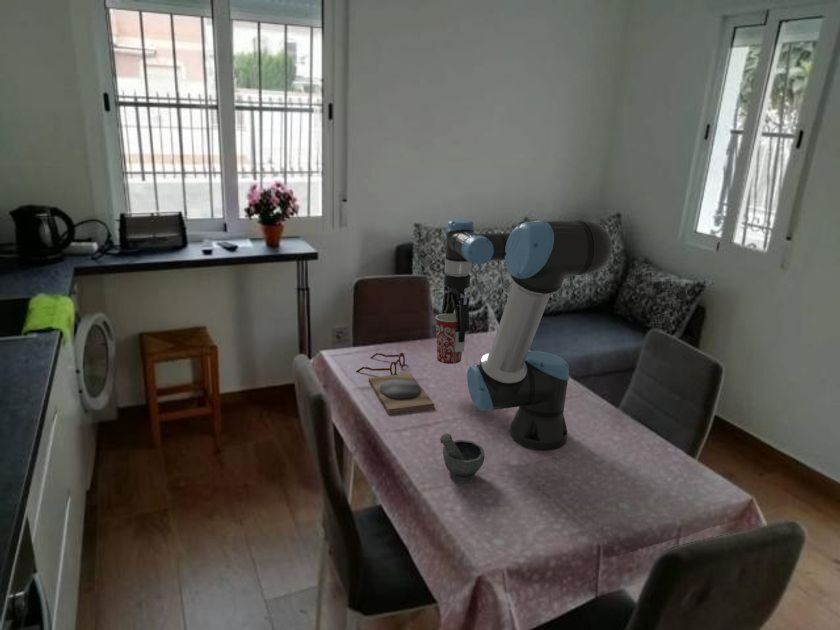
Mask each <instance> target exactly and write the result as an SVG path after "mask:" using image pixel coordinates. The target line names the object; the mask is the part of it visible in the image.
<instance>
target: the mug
mask: <svg viewBox="0 0 840 630" xmlns="http://www.w3.org/2000/svg"><path fill="white" fill-rule="evenodd" d="M434 319H435V322H436V323H435V324H436V325H435V329H436V359H437V361H438V362H439V363H442V364H444V365H445V364H446V365H453V364H458V363H460V362H461V361H462V354H463V352H455V337H456V332H455V330H457V321H456V314H455V313H453V314H441V313H440V314H436V316H435V317H434Z"/></svg>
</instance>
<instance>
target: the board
mask: <svg viewBox="0 0 840 630" xmlns="http://www.w3.org/2000/svg"><path fill="white" fill-rule="evenodd" d="M368 383H370V384H369V386H370V387H371V388H372V390H373V392H374V393H375V395H376V397H377V398H378V400H379V402H380V403H381V405H382V408H383V409H384V410H385V412H386V413H387V415H390V414H391V413H393V414H400V413H407V412H408V413H409V412H415V411H424V410H430V409H431V410H433V409H435V403H434V402H433V400H432V399H431V397H430V396H428V394H427V393H426V391H425V390H424V389H423V387H422V386H421V385H420V384H419V382H418V381H417V380H416V378H415V376H414V375H413V374H412V373H410V372H409V373H403V374H402V373H400V374H396V375H394V374H393V375H391V374H390V375H381V376H373V377H368ZM391 415H392V414H391Z"/></svg>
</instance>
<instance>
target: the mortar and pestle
mask: <svg viewBox="0 0 840 630" xmlns="http://www.w3.org/2000/svg"><path fill="white" fill-rule="evenodd" d="M439 441H440V444H442V445H443V447H442V456H443V461H444V462H443V463H444V465H445V467H446V469H447V470H448V471H449V473H448V475H449V478H450V480H452V481H453V482H455V483H459V484H469V483H471V482H473V481H474V480H475V479H476V473H478V472H479V470H480V469H481V468H482V466H483V464H484V461H485V457H486V454H485V450H484V448H483V446H481V445H480V444H478V443H476V442H474V441H472V440H471V441H470V440H466V439H465V440H463V439H457V440H453V437H452V435H451V434H450V433H444V434H442V435H441V436H440V438H439Z"/></svg>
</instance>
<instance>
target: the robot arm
mask: <svg viewBox="0 0 840 630" xmlns="http://www.w3.org/2000/svg"><path fill="white" fill-rule="evenodd" d="M446 227H447V228H446V233H445V234H446V239H445V240H446V241H445V242H446V243H445V259H444V272H445V274H444V279H443V285H444V288H443V298H442V306H441V313H440V314H456V321H457V330H455V332H456V337H455V352H462V353H463V352H465V344H466V342H465V341H466V332H469V331H470V311H469V310H470V307H469V305H470V297H466V293H465V290H466V289H468V288H470V285H471V275H470V274H471V271H472V270H471V267H472V265H473V264H474V265H477V266H478V265H479V266H481V265H485V264H487V263H488V262H495V261H496V262H497V261H499V262H500V261H504V263H505V266H506V270H507V272H508V273H509V277H510V279H511V280H512V285H511V288H510V291H509V294H508V296H507V301H506V303H505V306H504V308H503V312H502V315H501V318H500V321H499V324H498V326H497V327H498V328H497V330H496V334H495V337H494V339H493V343H492V346H491V348H490V349H489V350H487V351H486V352H485V353H484V354H483V355H482V356H481V360H480V362H479V364H473V365H470V366H469V367H468V369H467V373H466V381H467V388H468V393H469V396H470V399H471V401H472V403H473V404H474V406H475V407H476V409H478V410H480V411H495V410H503V409H510V408H518V409H517V411H516V412H515V415H514V417H513V420H512V421H511V424H510V431H509V432H510V433H509V434H510V437H511V438H512V440H513V441H514V442H516V443H517V444H519V445H521V446H522V447H525V448H529V449H532V450H537V451H553V450H558V449H561V448H562V447H564V446H565V445H566V444H567V440H568V429H567V424H566V419H565V418H566V417H565V415H564V413H565V412H564V411H565V403H566V397H567V390H568V383H569V382H568V381H569V380H570V377H569V376H570V375H569V373H570V366H569V363H568V362H567V361H566V360H565V359H563V358H562V357H560V356H558V355H556V354H553V353H549V352H546V351H540V350H531V351H530V348H531V346H532V343H533V340H534V338H535V336H536V333H537V330H538V328H539V325H540V323H541V319H543V318H542V317H543V314H544V312H545V310H546V308H547V304H548V303H549V299H550V297H551V295H552V294H555V293H557V292H558V291H560V290H561V288H562V285H563V283H564V280H565V278H566V277H567V276H568V277H569V276H571V277H573V276H583V275H589V274H592V273H596V272H597V271H599V270H600V269H603V267H604V266H606V264H607V263H608V262H609V260H610V258H611V256H612V252H613V240H612V237H611V235H610V233H609V231H608V230H607V229H606V228H604V227H603V226H602V225H600V224H599V223H597V222H595V221H590V220H581V219H580V220H550V221H549V220H547V221H546V220H541V219H538V220H534V221H525V222H522V223H520V224H519V223H518V224H517V226H516V227H514V228H513V229H512V231H511V232H498V233H497V232H496V233H494V232H493V233H491V232H490V233H476V232H475V229H474V222H473V221H472V220H470V219H461V218H456V219H451V220H449V221H448V222H447V226H446Z"/></svg>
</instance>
